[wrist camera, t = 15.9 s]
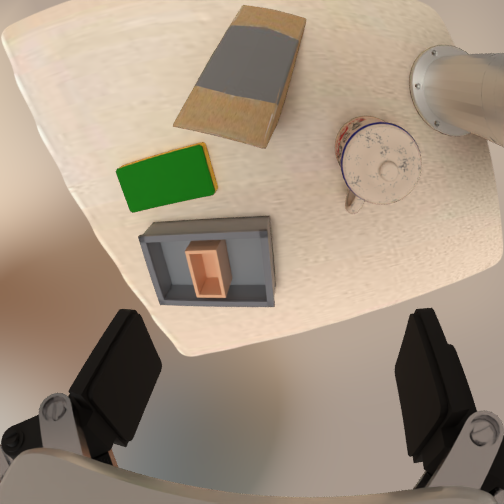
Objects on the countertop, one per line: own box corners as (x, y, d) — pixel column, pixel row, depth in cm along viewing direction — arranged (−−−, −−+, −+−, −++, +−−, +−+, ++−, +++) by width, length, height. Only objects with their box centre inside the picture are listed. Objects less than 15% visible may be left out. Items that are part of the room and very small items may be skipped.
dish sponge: (122, 165, 44) (114, 169, 42) (205, 140, 40) (200, 144, 38) (137, 207, 47) (130, 213, 45) (219, 188, 44) (215, 194, 42)
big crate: (270, 214, 44) (267, 230, 40) (277, 286, 50) (274, 307, 46) (152, 221, 47) (138, 236, 43) (170, 286, 54) (160, 304, 49)
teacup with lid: (348, 102, 35) (368, 109, 25) (409, 133, 35) (446, 154, 25) (313, 183, 41) (317, 219, 31) (372, 208, 41) (392, 251, 32)
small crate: (224, 232, 46) (216, 250, 42) (232, 278, 50) (225, 297, 46) (195, 234, 47) (184, 251, 43) (205, 278, 51) (196, 297, 46)
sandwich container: (309, 18, 30) (315, -17, 17) (277, 126, 38) (266, 150, 25) (241, 3, 30) (210, -35, 17) (213, 110, 38) (170, 127, 25)
